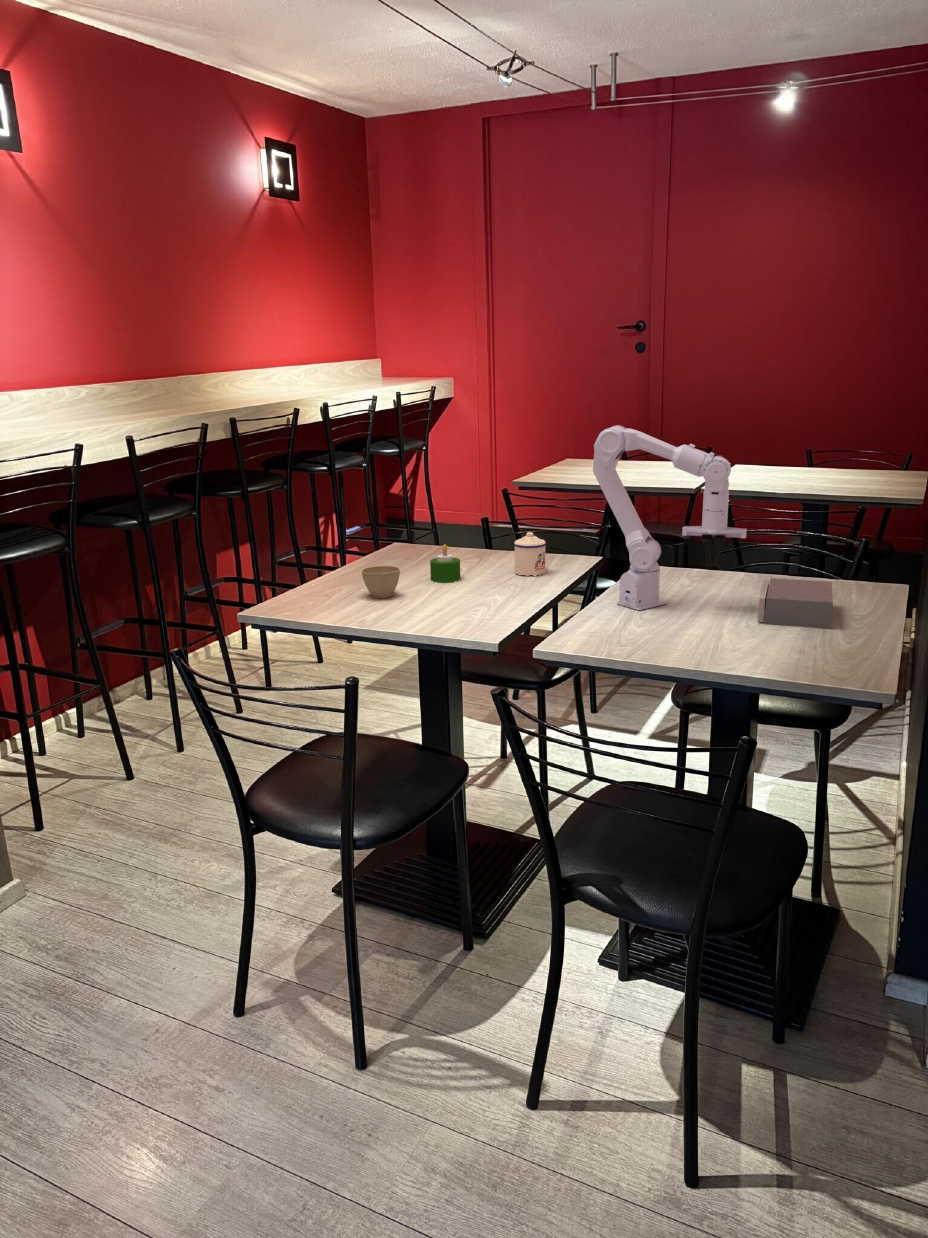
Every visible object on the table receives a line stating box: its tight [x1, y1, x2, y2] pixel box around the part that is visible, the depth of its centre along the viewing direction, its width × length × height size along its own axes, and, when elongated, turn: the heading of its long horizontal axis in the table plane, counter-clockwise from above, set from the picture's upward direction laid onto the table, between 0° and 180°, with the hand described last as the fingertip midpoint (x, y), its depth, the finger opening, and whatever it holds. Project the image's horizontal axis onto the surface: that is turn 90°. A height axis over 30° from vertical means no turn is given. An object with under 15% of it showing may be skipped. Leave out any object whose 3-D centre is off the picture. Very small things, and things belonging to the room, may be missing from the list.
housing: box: [764, 577, 834, 629], centre depth 218 cm, size 14×20×6 cm
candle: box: [429, 543, 461, 584], centre depth 260 cm, size 8×8×10 cm
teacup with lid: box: [513, 531, 547, 577], centre depth 266 cm, size 12×9×12 cm
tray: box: [757, 578, 770, 623], centre depth 219 cm, size 12×20×6 cm, turn 160°
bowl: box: [360, 565, 401, 599], centre depth 244 cm, size 10×10×7 cm
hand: (712, 566), depth 223 cm, fingers closed
